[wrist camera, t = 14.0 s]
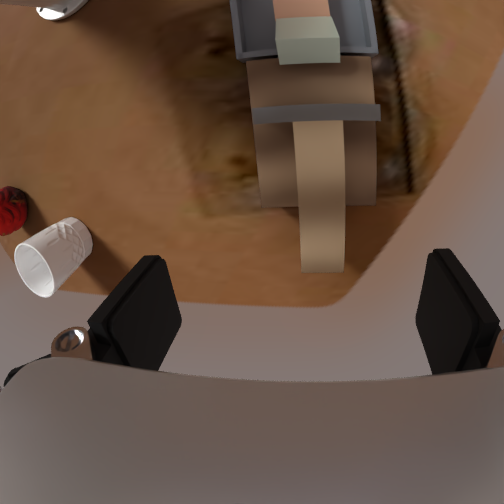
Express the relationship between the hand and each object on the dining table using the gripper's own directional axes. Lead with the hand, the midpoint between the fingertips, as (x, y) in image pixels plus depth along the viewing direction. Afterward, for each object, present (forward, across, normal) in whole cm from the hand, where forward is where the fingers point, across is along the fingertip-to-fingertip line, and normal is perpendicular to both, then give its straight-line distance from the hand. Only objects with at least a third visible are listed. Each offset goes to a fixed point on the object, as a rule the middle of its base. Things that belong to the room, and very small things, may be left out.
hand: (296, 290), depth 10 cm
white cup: (+24, +33, +8) cm, 41 cm away
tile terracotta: (+20, -1, -17) cm, 26 cm away
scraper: (+19, -1, +1) cm, 19 cm away
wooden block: (+23, -1, -3) cm, 24 cm away
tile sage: (+20, -1, -11) cm, 23 cm away
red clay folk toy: (+24, +45, 0) cm, 51 cm away
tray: (+23, -1, -16) cm, 28 cm away
